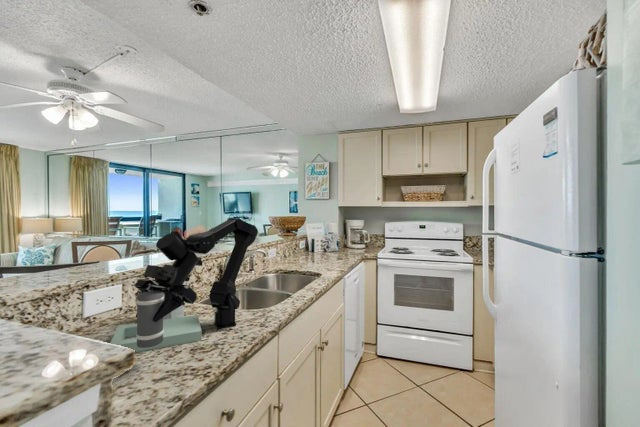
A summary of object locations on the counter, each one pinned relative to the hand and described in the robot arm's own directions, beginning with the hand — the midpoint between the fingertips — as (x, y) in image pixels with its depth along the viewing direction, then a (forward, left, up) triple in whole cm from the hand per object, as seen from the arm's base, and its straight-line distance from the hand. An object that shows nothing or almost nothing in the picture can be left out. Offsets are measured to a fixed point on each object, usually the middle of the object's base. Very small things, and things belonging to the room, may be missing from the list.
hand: (145, 319), depth 75 cm
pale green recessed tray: (-3, -18, -12) cm, 22 cm away
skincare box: (-6, -35, -13) cm, 38 cm away
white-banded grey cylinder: (-1, -1, -7) cm, 7 cm away
